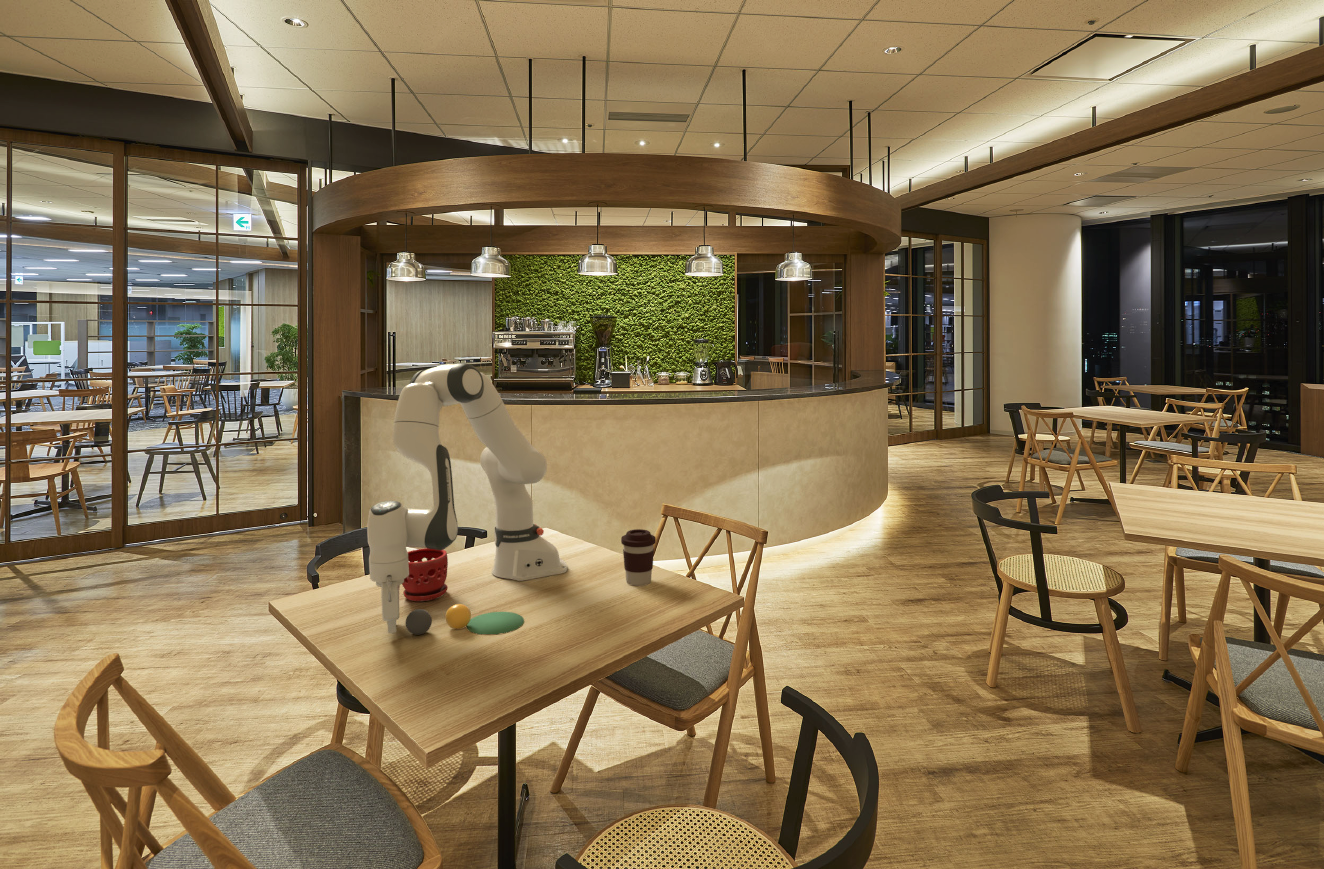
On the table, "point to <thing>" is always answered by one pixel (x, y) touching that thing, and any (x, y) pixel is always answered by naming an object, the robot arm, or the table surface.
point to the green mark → (495, 623)
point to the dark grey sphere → (418, 621)
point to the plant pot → (426, 575)
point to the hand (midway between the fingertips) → (392, 624)
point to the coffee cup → (638, 556)
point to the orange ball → (458, 616)
